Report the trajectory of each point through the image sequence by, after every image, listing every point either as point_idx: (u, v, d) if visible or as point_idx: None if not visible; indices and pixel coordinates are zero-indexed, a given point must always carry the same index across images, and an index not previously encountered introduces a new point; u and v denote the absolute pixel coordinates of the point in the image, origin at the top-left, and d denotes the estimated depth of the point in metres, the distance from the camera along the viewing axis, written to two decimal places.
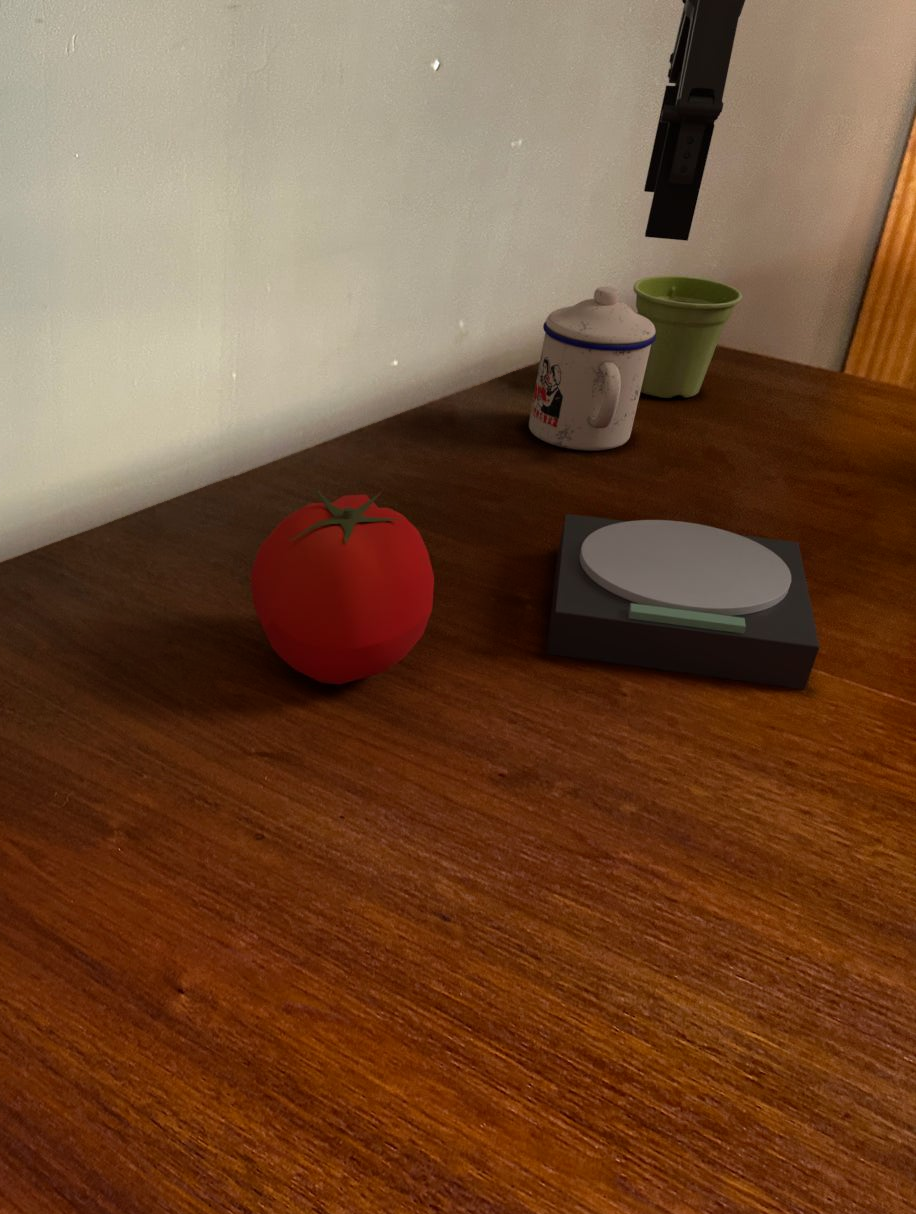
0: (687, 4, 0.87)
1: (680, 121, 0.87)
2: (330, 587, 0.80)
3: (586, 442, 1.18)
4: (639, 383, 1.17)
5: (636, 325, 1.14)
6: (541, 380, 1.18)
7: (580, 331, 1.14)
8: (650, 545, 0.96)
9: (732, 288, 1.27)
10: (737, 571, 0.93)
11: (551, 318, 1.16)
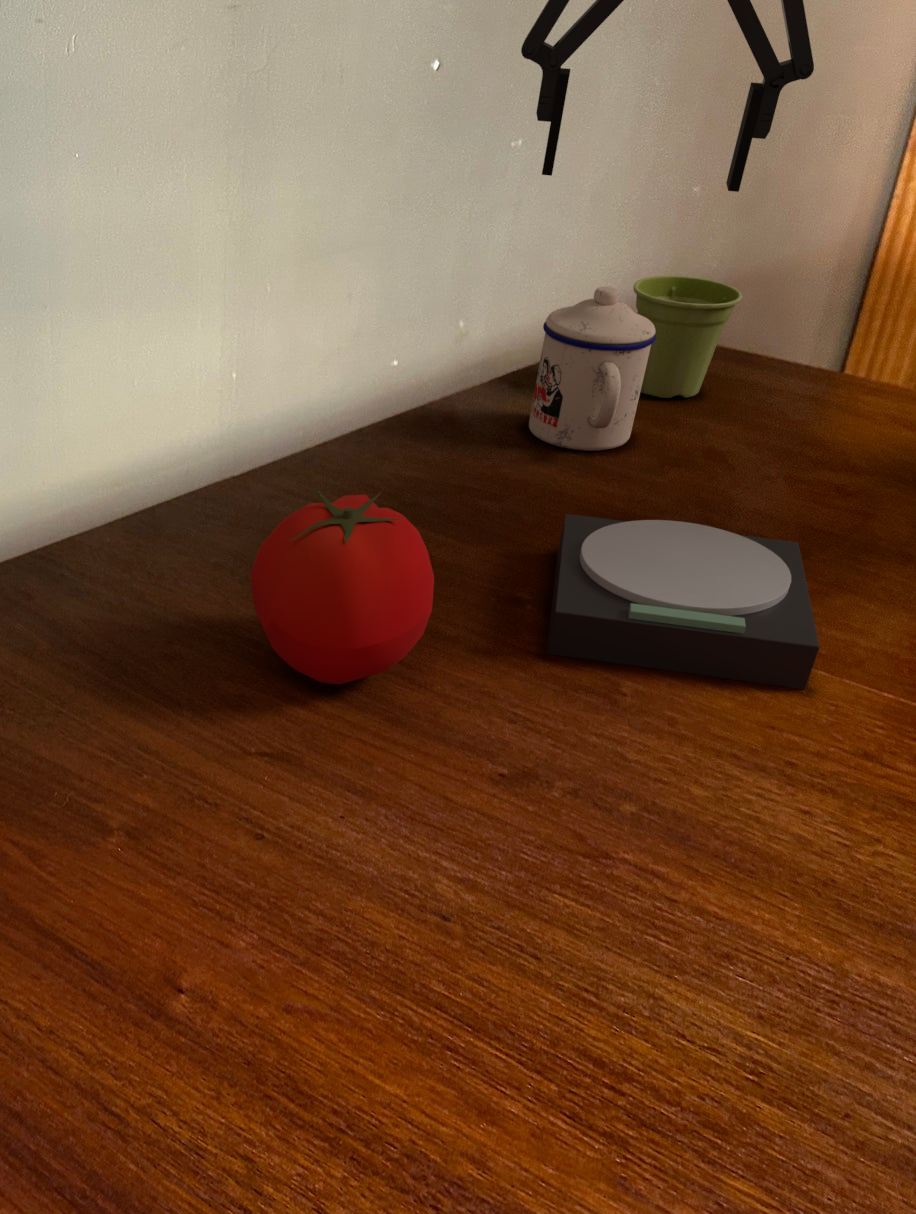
0: None
1: None
2: (330, 587, 0.80)
3: (586, 442, 1.18)
4: (639, 383, 1.17)
5: (636, 325, 1.14)
6: (541, 380, 1.18)
7: (580, 331, 1.14)
8: (650, 545, 0.96)
9: (732, 288, 1.27)
10: (737, 571, 0.93)
11: (551, 318, 1.16)
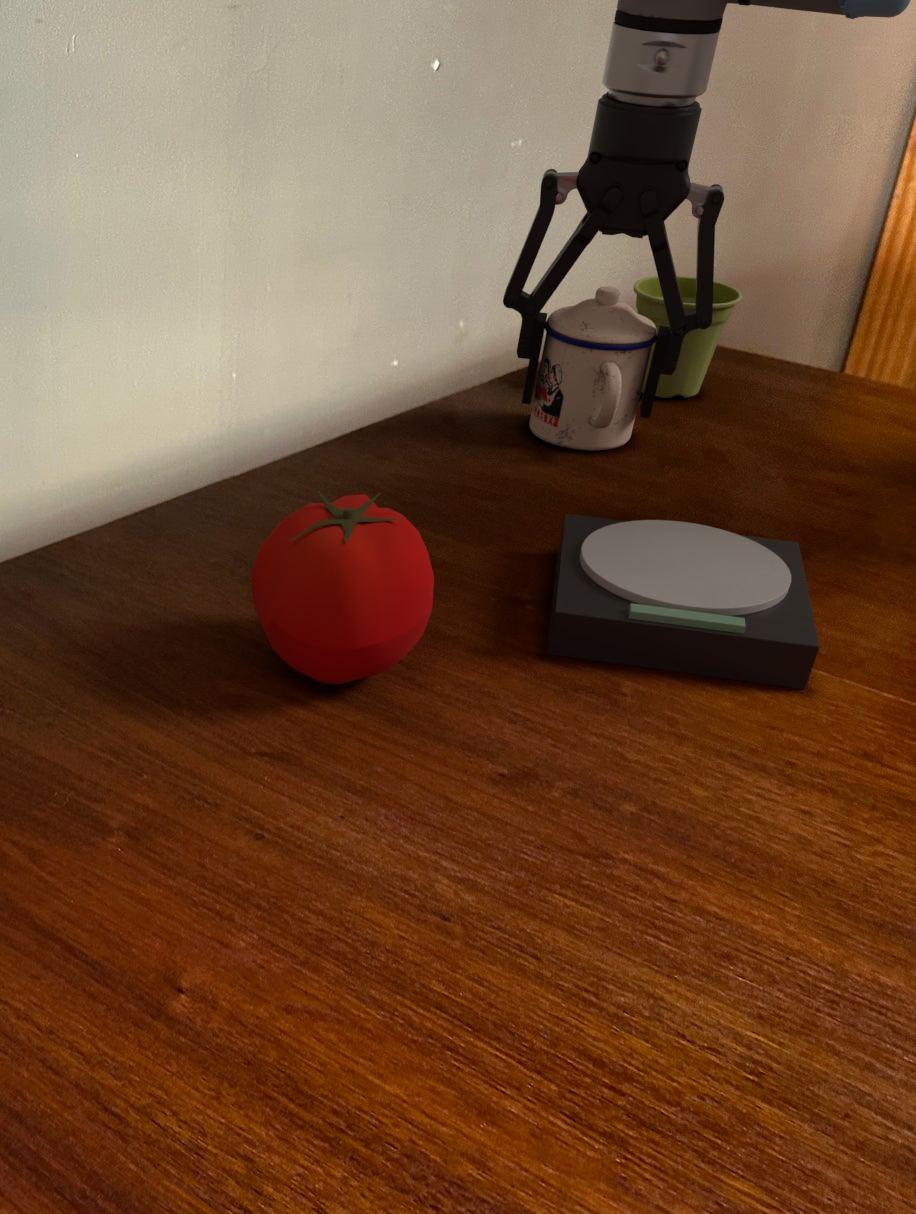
0: (661, 244, 1.09)
1: None
2: (330, 587, 0.80)
3: (586, 442, 1.18)
4: (640, 383, 1.17)
5: (637, 325, 1.14)
6: (542, 380, 1.18)
7: (581, 331, 1.14)
8: (650, 545, 0.96)
9: (732, 288, 1.27)
10: (737, 571, 0.93)
11: (552, 317, 1.16)
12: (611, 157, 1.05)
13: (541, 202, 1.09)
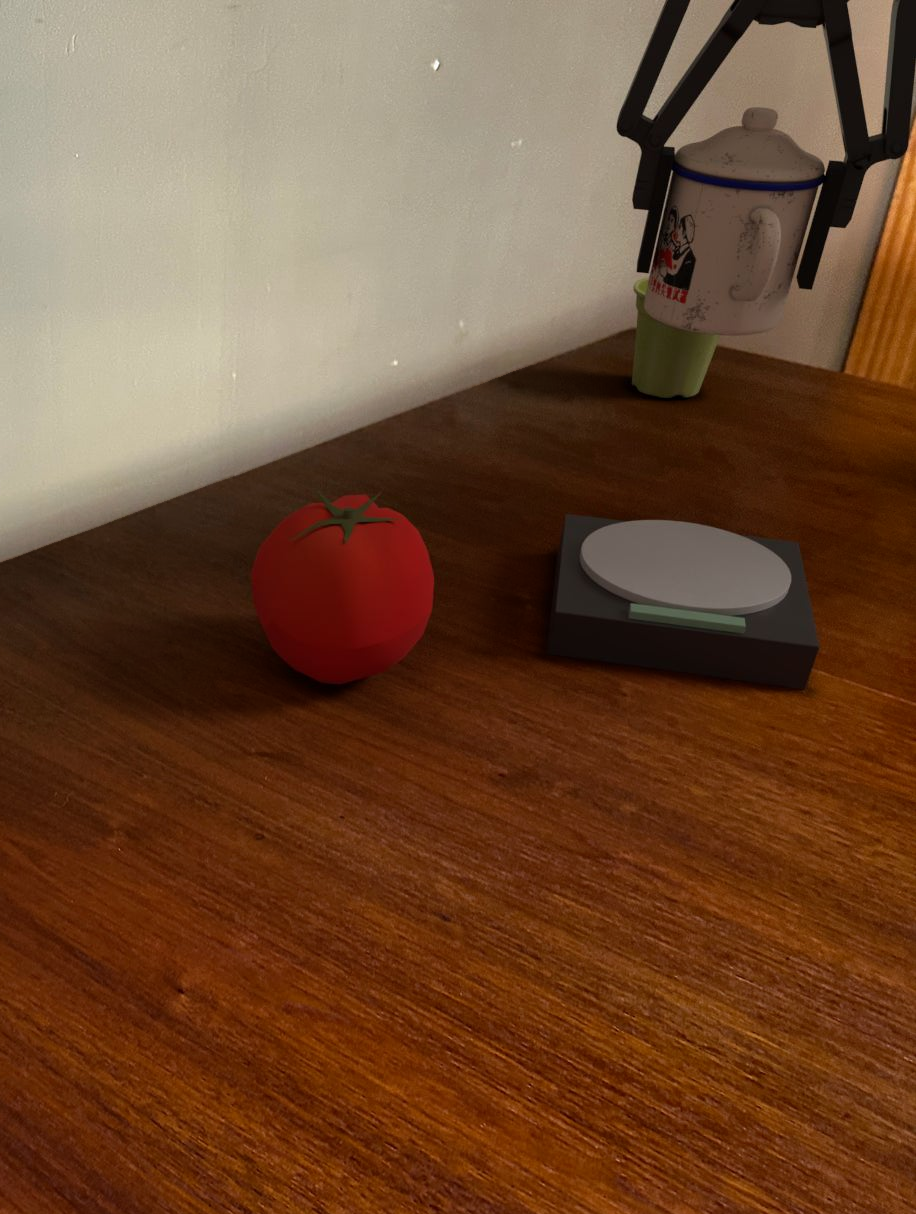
0: (843, 35, 0.79)
1: None
2: (330, 587, 0.80)
3: (725, 323, 0.88)
4: (800, 242, 0.86)
5: (801, 158, 0.84)
6: (666, 240, 0.88)
7: (725, 165, 0.83)
8: (650, 545, 0.96)
9: None
10: (737, 571, 0.93)
11: (682, 152, 0.86)
12: None
13: None
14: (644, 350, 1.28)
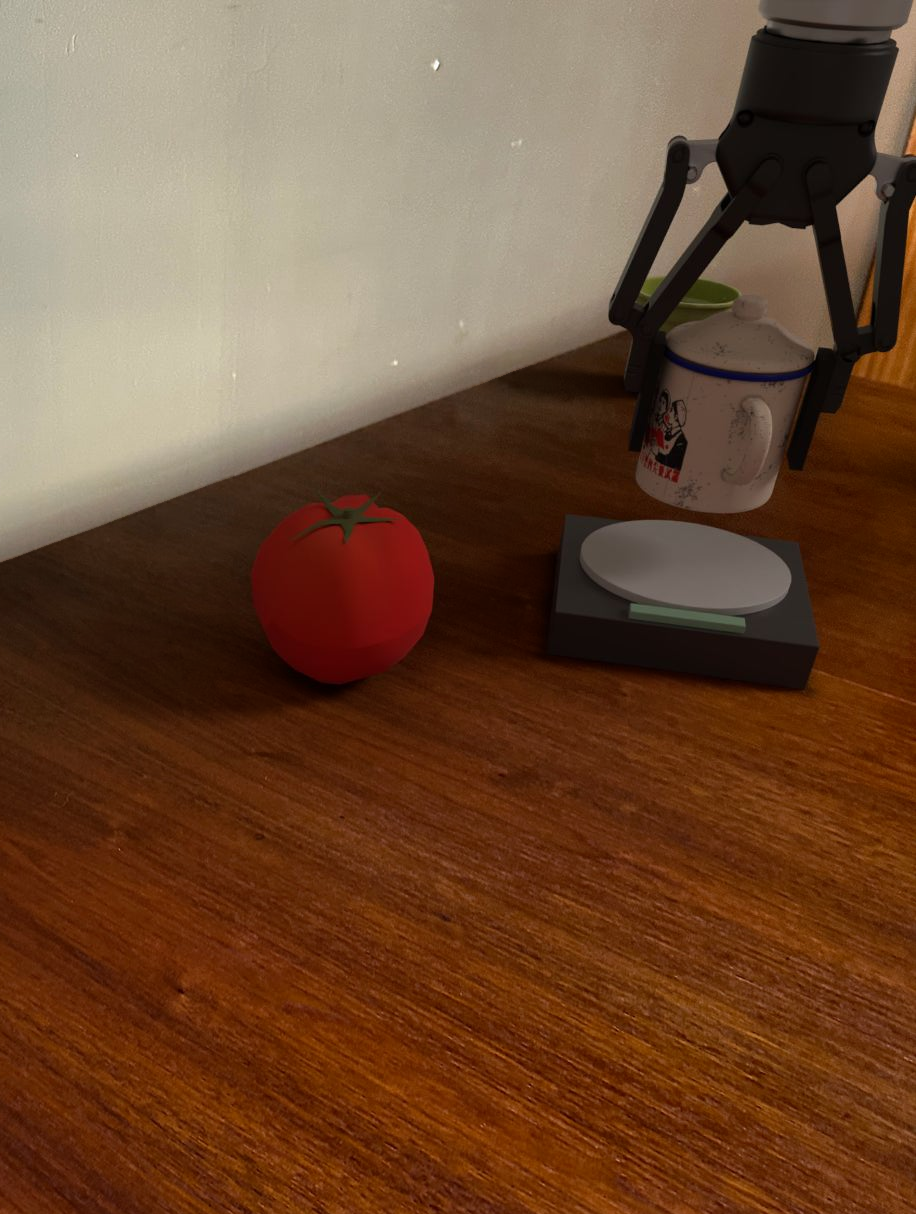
0: (833, 238, 0.79)
1: None
2: (330, 587, 0.80)
3: (716, 502, 0.89)
4: (790, 424, 0.87)
5: (791, 347, 0.84)
6: (657, 420, 0.89)
7: (716, 355, 0.84)
8: (650, 545, 0.96)
9: (732, 288, 1.27)
10: (737, 571, 0.93)
11: (673, 337, 0.86)
12: (771, 116, 0.75)
13: (666, 181, 0.80)
14: None
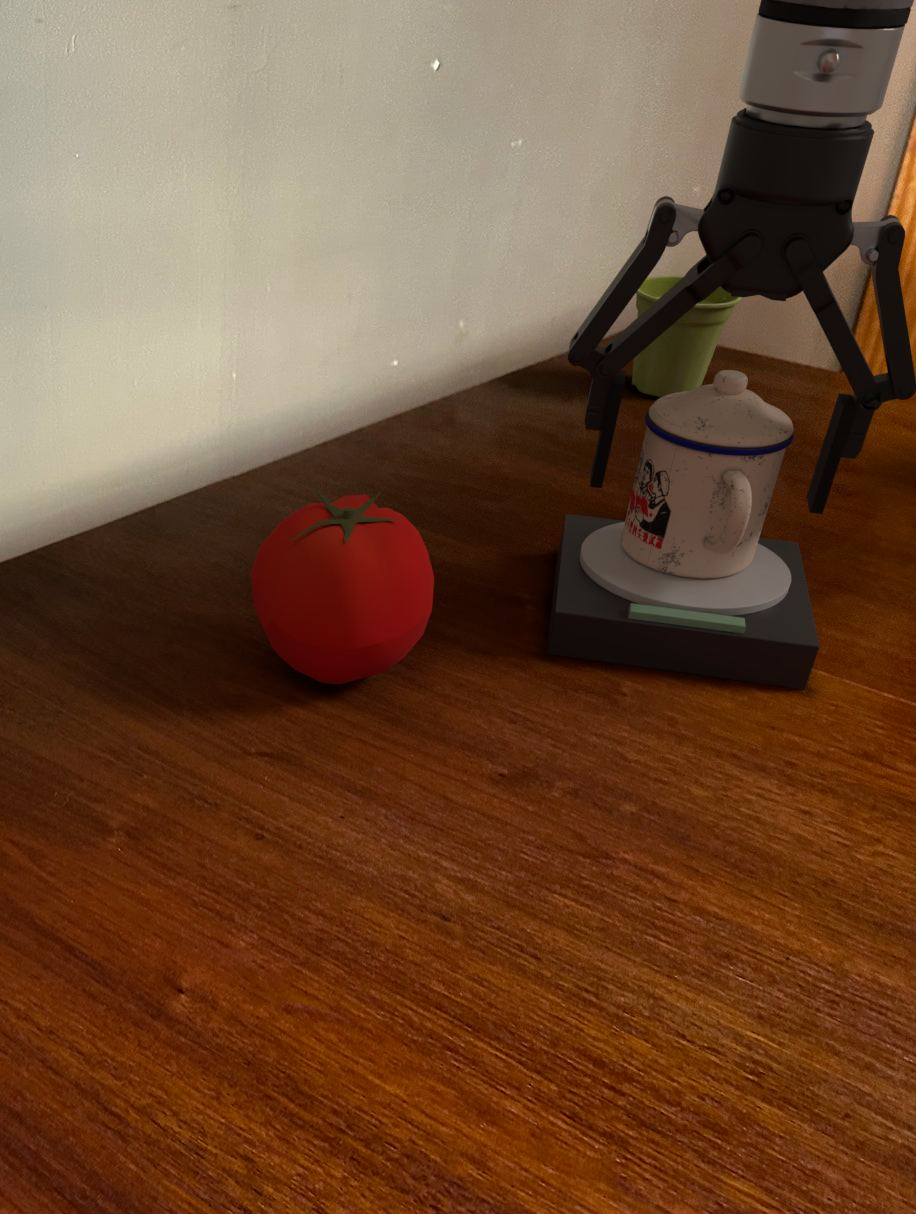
0: (826, 302, 0.81)
1: None
2: (330, 587, 0.80)
3: (699, 568, 0.91)
4: (770, 494, 0.90)
5: (770, 421, 0.87)
6: (642, 488, 0.91)
7: (697, 430, 0.87)
8: None
9: None
10: None
11: (657, 410, 0.89)
12: (750, 196, 0.78)
13: (649, 238, 0.82)
14: (644, 350, 1.28)
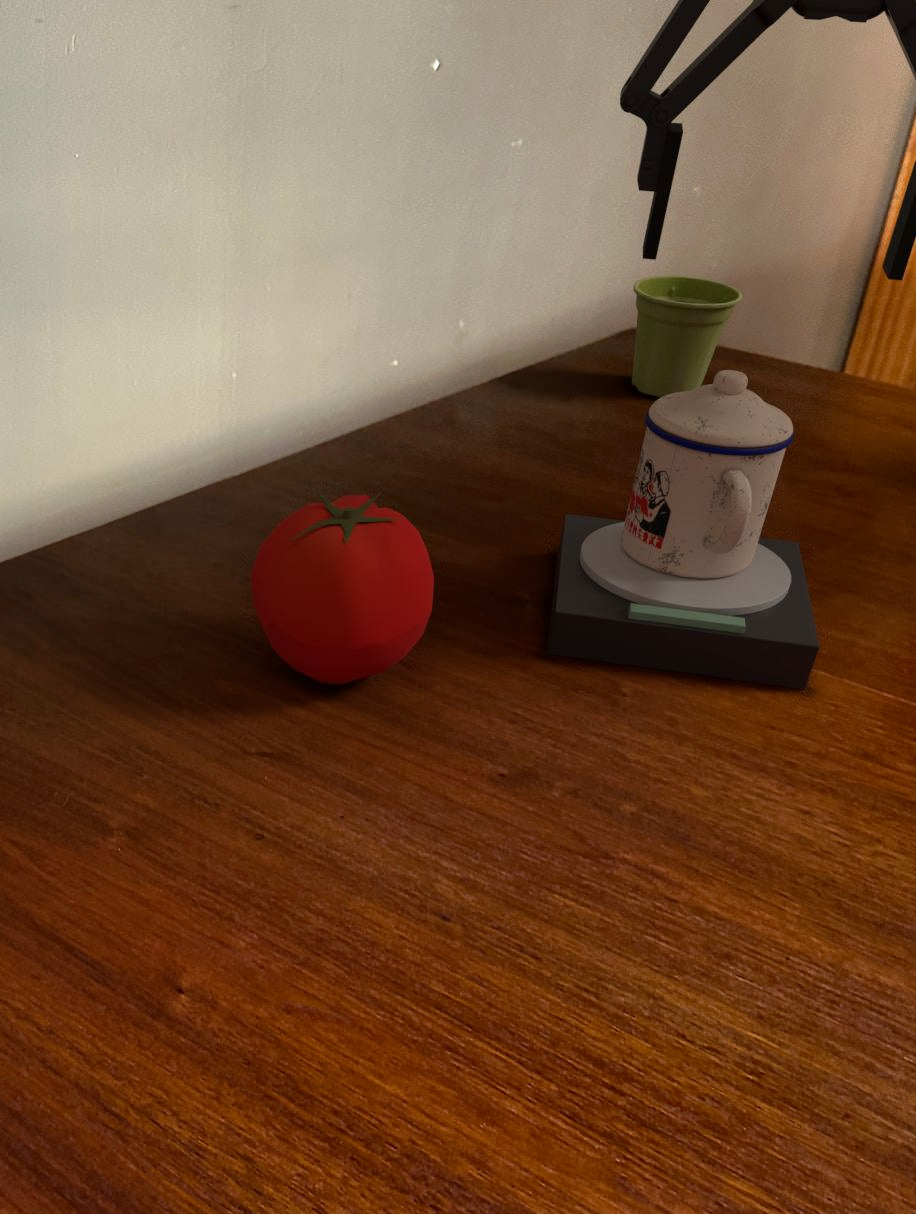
0: (913, 19, 0.73)
1: None
2: (330, 587, 0.80)
3: (699, 568, 0.91)
4: (770, 494, 0.90)
5: (770, 421, 0.87)
6: (642, 488, 0.91)
7: (697, 430, 0.87)
8: None
9: (732, 288, 1.27)
10: None
11: (657, 410, 0.89)
12: None
13: None
14: (644, 350, 1.28)
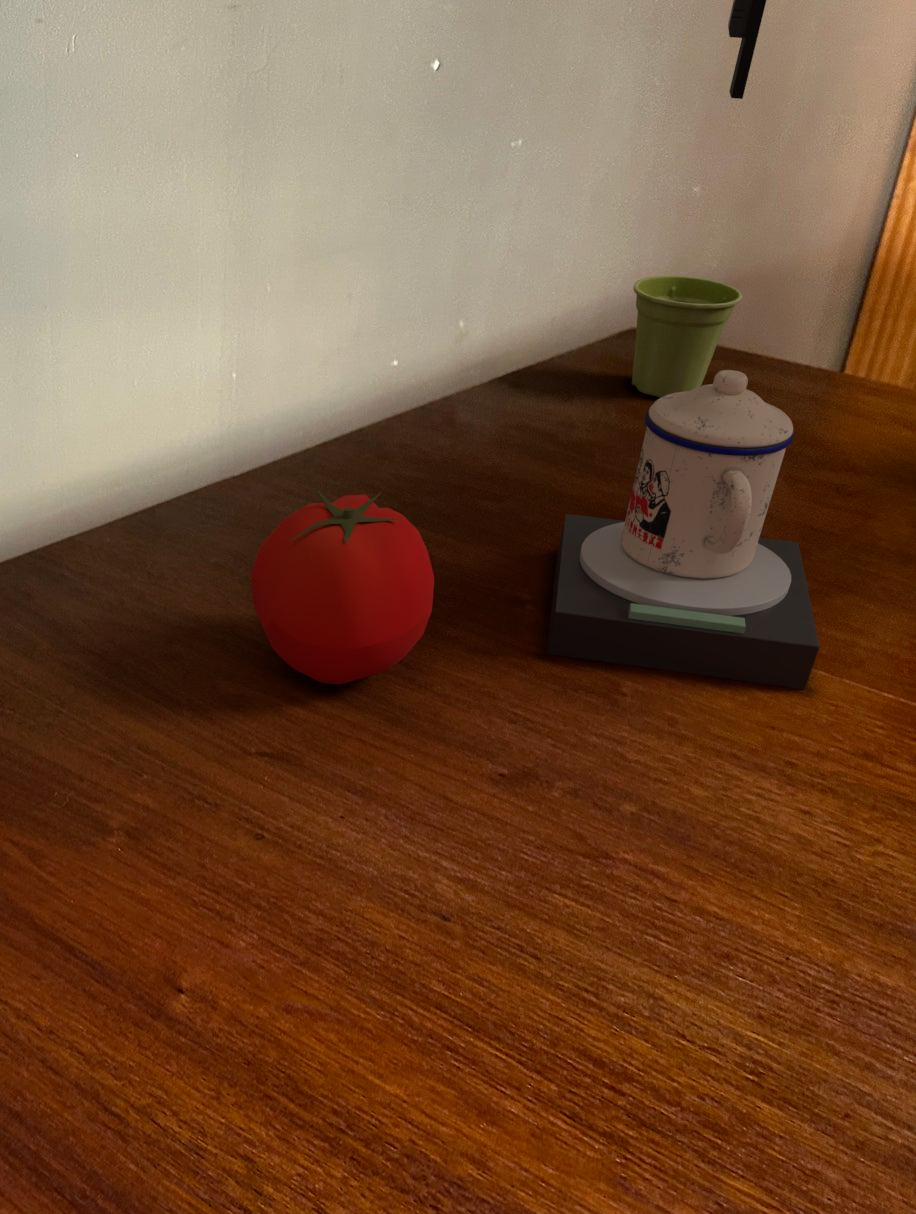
0: None
1: None
2: (330, 587, 0.80)
3: (699, 568, 0.91)
4: (770, 494, 0.90)
5: (770, 421, 0.87)
6: (642, 488, 0.91)
7: (697, 430, 0.87)
8: None
9: (732, 288, 1.27)
10: None
11: (657, 410, 0.89)
12: None
13: None
14: (644, 350, 1.28)
